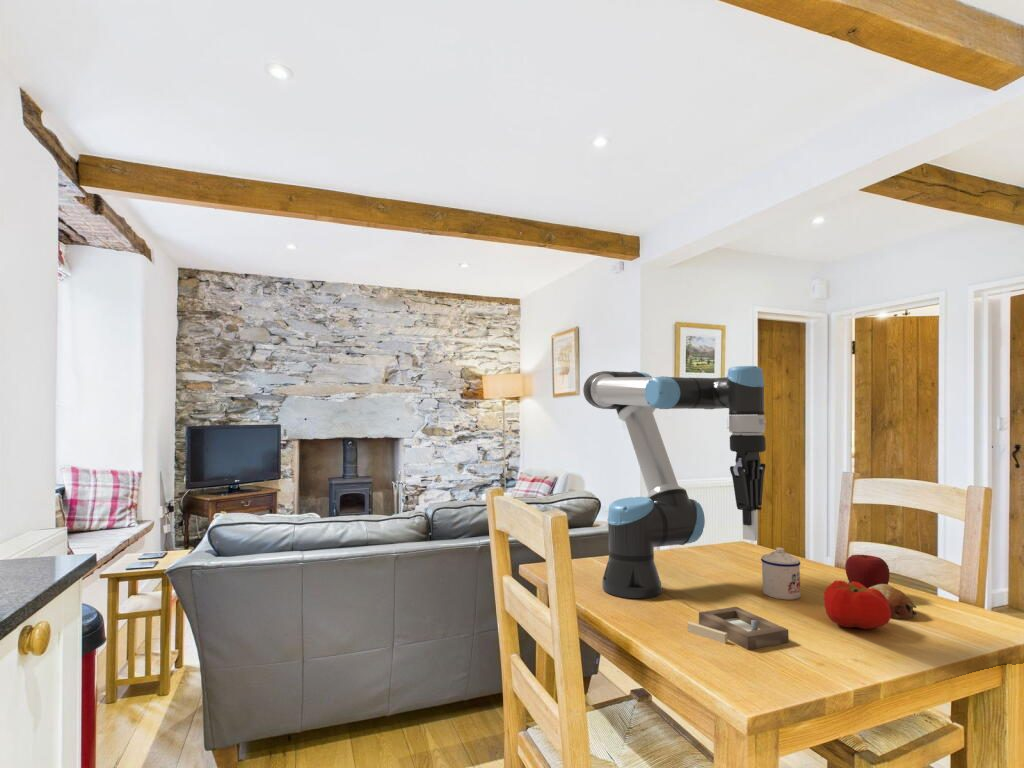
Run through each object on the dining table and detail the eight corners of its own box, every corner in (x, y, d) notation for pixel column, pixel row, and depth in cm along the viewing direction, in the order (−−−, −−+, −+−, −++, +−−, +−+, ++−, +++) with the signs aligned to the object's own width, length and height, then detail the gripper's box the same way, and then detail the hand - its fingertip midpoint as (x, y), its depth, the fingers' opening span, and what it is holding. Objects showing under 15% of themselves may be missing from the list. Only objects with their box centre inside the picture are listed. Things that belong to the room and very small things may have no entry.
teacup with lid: (796, 603, 135) (795, 554, 136) (757, 595, 141) (755, 548, 142) (808, 591, 144) (806, 545, 145) (770, 584, 150) (769, 540, 151)
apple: (866, 587, 148) (865, 548, 148) (900, 598, 138) (898, 557, 139) (837, 590, 145) (836, 551, 146) (869, 602, 136) (868, 560, 136)
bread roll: (886, 620, 134) (870, 585, 137) (929, 613, 126) (911, 576, 130) (862, 627, 129) (846, 591, 133) (905, 621, 121) (887, 583, 125)
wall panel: (661, 634, 116) (661, 609, 117) (701, 615, 127) (700, 593, 127) (768, 669, 100) (767, 641, 100) (803, 644, 111) (802, 619, 111)
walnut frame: (699, 623, 118) (698, 612, 118) (736, 617, 122) (736, 606, 122) (747, 649, 105) (747, 636, 105) (788, 642, 108) (788, 629, 109)
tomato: (887, 643, 111) (885, 599, 112) (817, 628, 119) (815, 586, 120) (896, 624, 122) (894, 583, 122) (831, 611, 130) (829, 572, 130)
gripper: (750, 435, 120) (753, 546, 118) (776, 433, 128) (779, 537, 127) (717, 434, 125) (720, 541, 124) (744, 433, 134) (747, 532, 132)
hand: (750, 539), depth 125 cm, fingers closed
